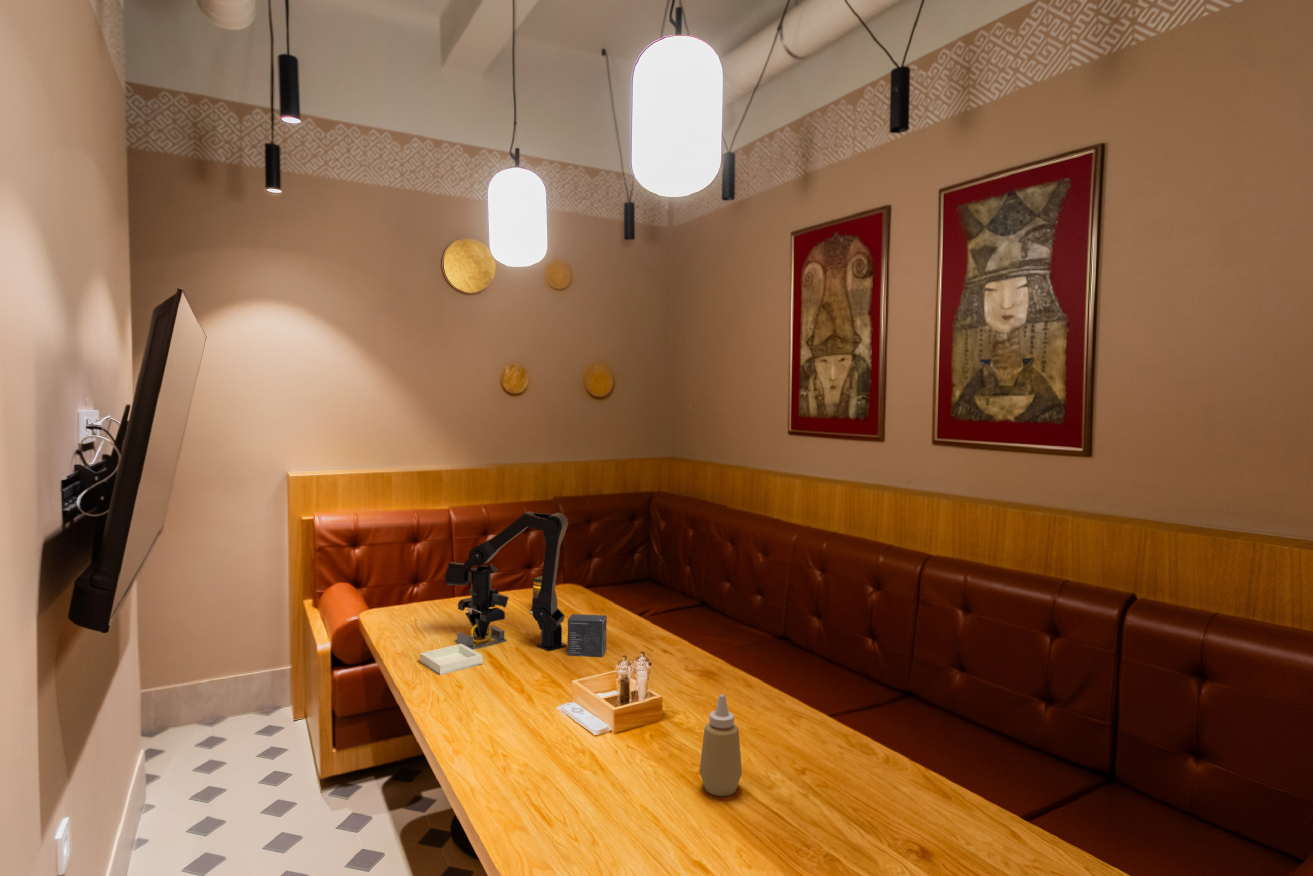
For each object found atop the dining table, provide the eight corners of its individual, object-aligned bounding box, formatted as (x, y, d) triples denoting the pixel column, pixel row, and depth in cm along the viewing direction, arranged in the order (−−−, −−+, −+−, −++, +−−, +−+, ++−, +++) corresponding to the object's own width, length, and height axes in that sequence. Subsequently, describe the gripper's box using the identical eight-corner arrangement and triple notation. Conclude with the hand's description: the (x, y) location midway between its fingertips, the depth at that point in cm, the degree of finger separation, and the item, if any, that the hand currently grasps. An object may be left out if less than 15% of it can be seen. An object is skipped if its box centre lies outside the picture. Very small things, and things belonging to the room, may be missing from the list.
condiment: (527, 613, 247) (528, 578, 247) (540, 607, 255) (540, 573, 255) (546, 615, 245) (546, 581, 244) (558, 609, 253) (558, 575, 252)
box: (606, 649, 212) (607, 614, 212) (603, 657, 206) (603, 621, 205) (571, 648, 213) (571, 613, 213) (566, 655, 207) (566, 619, 206)
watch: (472, 645, 215) (471, 626, 214) (470, 642, 217) (468, 623, 217) (492, 640, 218) (491, 621, 217) (489, 638, 220) (488, 619, 220)
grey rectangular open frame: (506, 641, 218) (506, 631, 218) (470, 650, 210) (470, 639, 210) (490, 633, 225) (490, 624, 225) (455, 641, 217) (455, 632, 217)
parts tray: (482, 664, 199) (482, 655, 199) (440, 675, 190) (440, 665, 190) (461, 652, 208) (461, 643, 208) (420, 662, 200) (420, 653, 200)
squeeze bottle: (714, 773, 142) (716, 684, 141) (749, 788, 137) (751, 695, 136) (690, 790, 136) (692, 696, 135) (726, 806, 131) (728, 708, 130)
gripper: (520, 588, 215) (520, 639, 216) (489, 576, 229) (489, 625, 230) (487, 594, 208) (487, 647, 208) (457, 582, 221) (457, 632, 222)
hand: (480, 637), depth 217 cm, fingers closed on watch, 2 cm apart
